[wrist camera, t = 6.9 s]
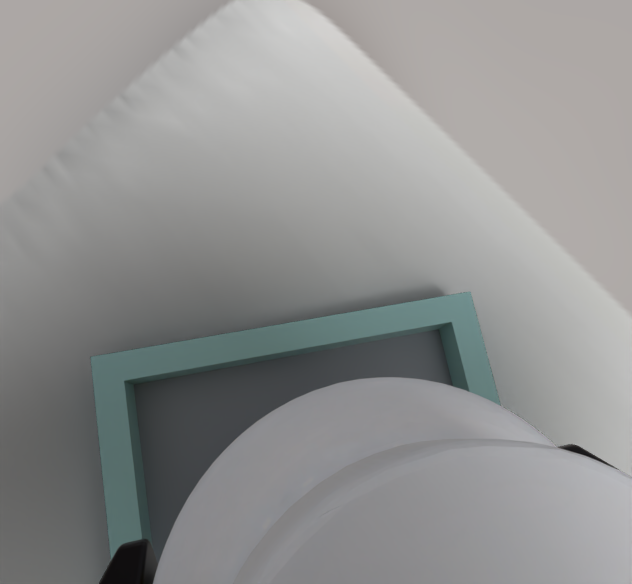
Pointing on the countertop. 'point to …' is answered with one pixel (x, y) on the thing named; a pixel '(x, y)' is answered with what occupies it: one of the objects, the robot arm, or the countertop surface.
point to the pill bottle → (400, 497)
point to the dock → (254, 394)
